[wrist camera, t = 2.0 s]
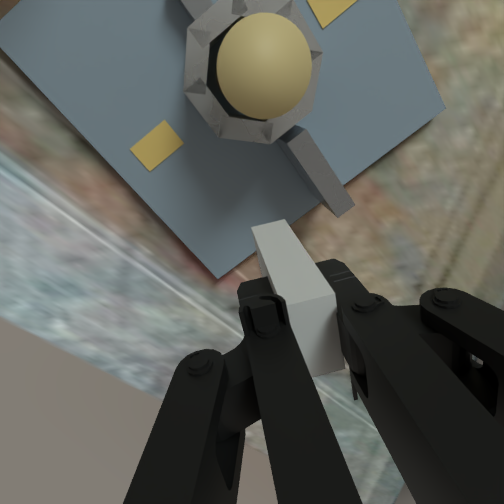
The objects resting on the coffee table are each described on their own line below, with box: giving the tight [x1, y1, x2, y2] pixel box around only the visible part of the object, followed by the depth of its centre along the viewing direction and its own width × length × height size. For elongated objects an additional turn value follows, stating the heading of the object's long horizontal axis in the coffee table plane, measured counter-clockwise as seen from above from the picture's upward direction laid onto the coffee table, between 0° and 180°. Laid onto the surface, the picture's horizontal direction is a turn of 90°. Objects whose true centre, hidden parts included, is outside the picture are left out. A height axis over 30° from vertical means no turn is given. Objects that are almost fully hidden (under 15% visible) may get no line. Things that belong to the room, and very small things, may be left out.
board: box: [0, 0, 446, 279], centre depth 22 cm, size 22×22×10 cm
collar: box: [178, 0, 355, 218], centre depth 24 cm, size 17×7×5 cm, turn 37°
